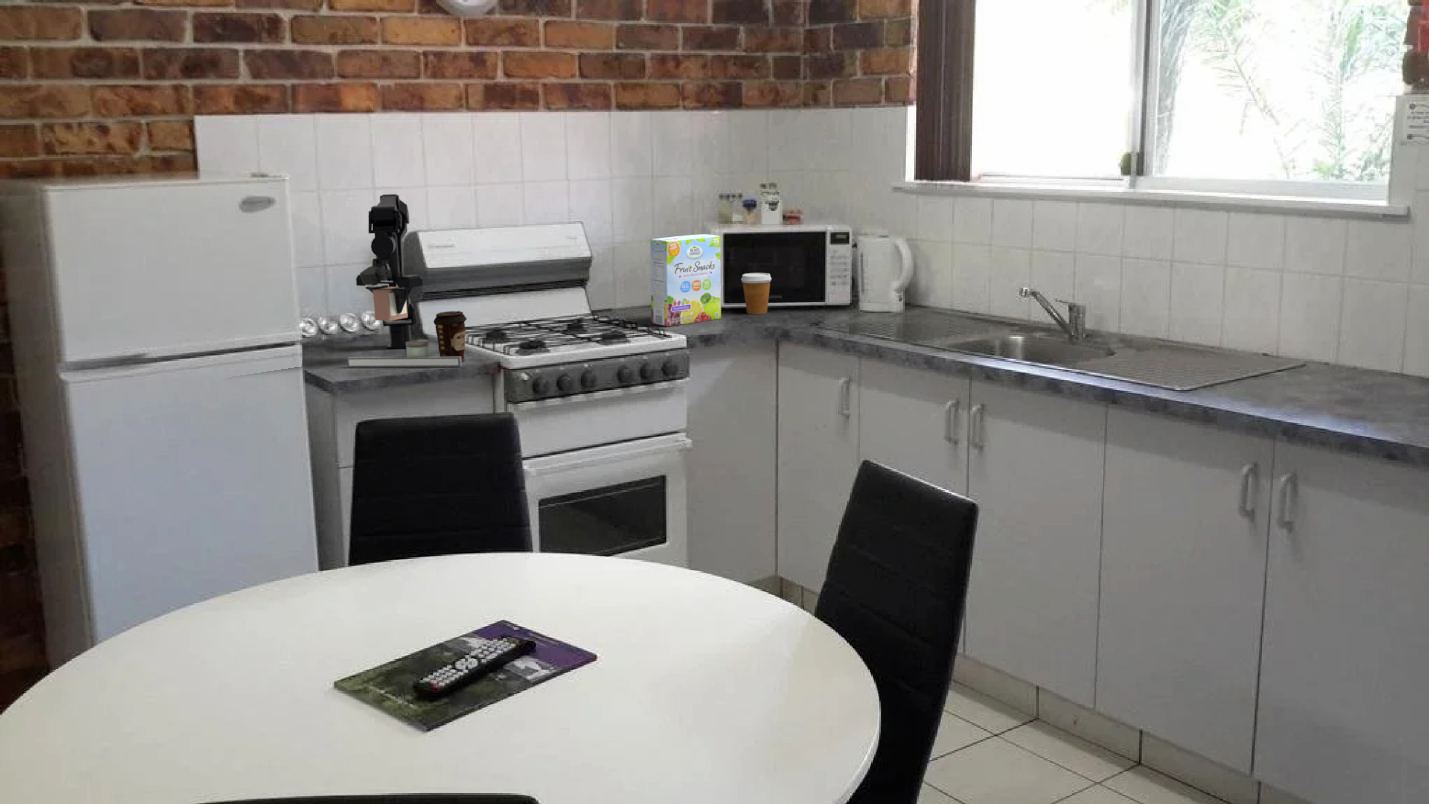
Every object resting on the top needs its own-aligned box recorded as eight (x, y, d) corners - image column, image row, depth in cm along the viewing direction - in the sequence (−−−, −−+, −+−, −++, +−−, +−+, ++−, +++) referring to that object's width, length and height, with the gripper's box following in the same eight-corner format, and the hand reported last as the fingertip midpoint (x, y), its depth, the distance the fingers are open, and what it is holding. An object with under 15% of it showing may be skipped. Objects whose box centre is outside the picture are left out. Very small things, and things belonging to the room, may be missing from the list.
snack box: (668, 327, 400) (665, 240, 394) (650, 324, 406) (647, 238, 401) (723, 318, 414) (721, 234, 408) (704, 315, 420) (702, 232, 414)
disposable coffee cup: (735, 313, 423) (734, 275, 420) (754, 309, 430) (754, 272, 427) (759, 316, 417) (758, 277, 414) (778, 312, 424) (777, 273, 421)
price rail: (349, 366, 352) (348, 357, 351) (461, 365, 349) (461, 356, 348) (347, 367, 350) (346, 358, 350) (460, 367, 347) (459, 357, 347)
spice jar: (411, 362, 356) (409, 339, 355) (432, 361, 356) (431, 339, 354) (404, 366, 351) (402, 343, 349) (426, 366, 350) (424, 343, 349)
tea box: (375, 320, 357) (372, 289, 356) (393, 316, 363) (391, 286, 362) (390, 321, 355) (387, 290, 353) (408, 317, 361) (406, 287, 359)
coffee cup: (473, 358, 358) (470, 310, 355) (465, 364, 350) (461, 315, 347) (441, 359, 359) (438, 310, 356) (432, 365, 351) (428, 315, 348)
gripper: (338, 256, 353) (343, 315, 357) (392, 258, 344) (396, 318, 347) (369, 252, 363) (373, 309, 366) (421, 253, 354) (426, 313, 357)
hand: (391, 312), depth 359 cm, fingers closed on tea box, 5 cm apart
